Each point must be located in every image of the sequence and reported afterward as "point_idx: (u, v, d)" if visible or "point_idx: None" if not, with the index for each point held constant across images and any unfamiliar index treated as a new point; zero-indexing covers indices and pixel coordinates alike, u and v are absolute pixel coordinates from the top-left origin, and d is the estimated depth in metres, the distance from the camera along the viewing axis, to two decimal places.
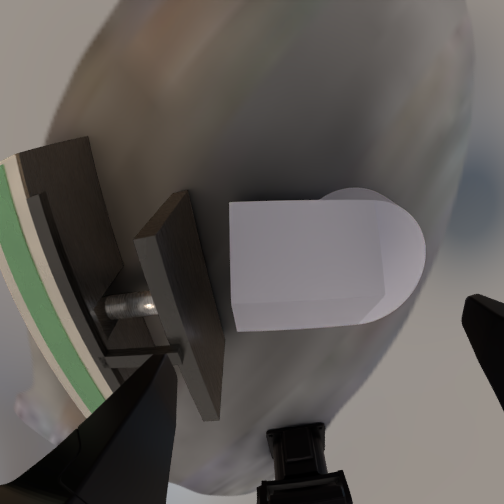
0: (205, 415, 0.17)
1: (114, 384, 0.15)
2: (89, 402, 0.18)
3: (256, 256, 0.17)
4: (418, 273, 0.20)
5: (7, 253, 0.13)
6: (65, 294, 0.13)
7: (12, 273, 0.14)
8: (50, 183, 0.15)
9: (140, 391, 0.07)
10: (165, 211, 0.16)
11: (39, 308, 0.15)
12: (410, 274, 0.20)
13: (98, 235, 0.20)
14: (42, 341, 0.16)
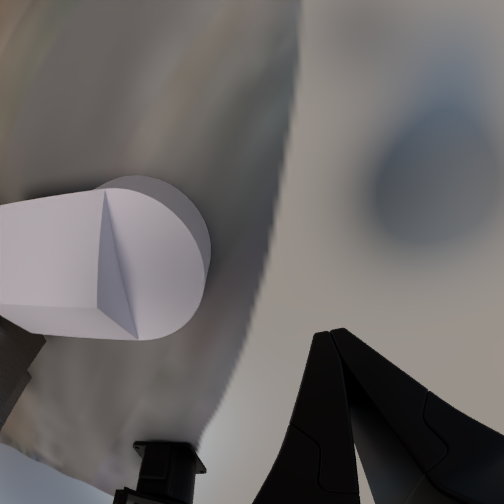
0: None
1: None
2: None
3: None
4: (199, 281, 0.16)
5: None
6: None
7: None
8: None
9: (338, 368, 0.06)
10: None
11: None
12: (185, 282, 0.16)
13: None
14: None
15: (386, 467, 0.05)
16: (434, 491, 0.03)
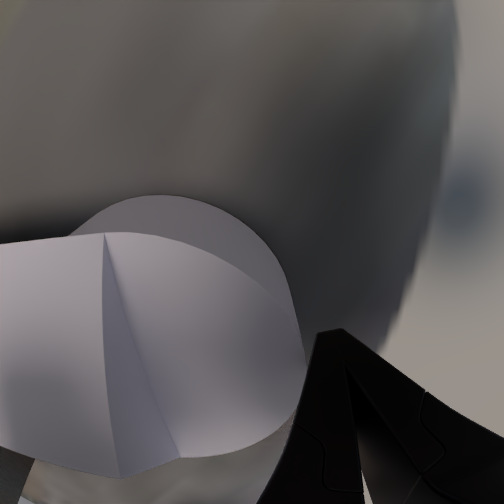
0: None
1: None
2: None
3: None
4: (294, 391, 0.09)
5: None
6: None
7: None
8: None
9: (340, 368, 0.06)
10: None
11: None
12: (269, 394, 0.09)
13: None
14: None
15: (383, 468, 0.05)
16: (431, 492, 0.03)
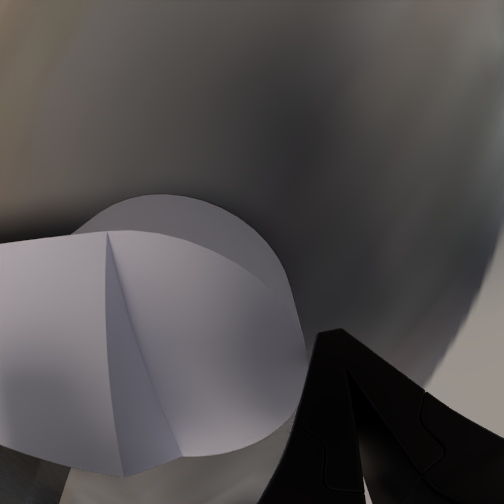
0: None
1: None
2: None
3: None
4: (296, 389, 0.09)
5: None
6: None
7: None
8: None
9: (341, 368, 0.06)
10: None
11: None
12: (271, 392, 0.09)
13: None
14: None
15: (382, 468, 0.05)
16: (430, 493, 0.03)
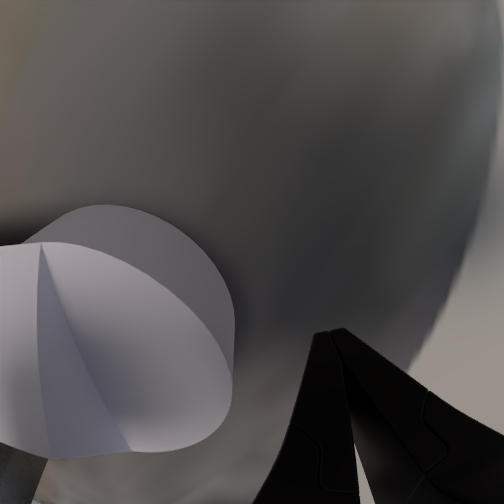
0: None
1: None
2: None
3: None
4: (223, 396, 0.09)
5: None
6: None
7: None
8: None
9: (338, 368, 0.06)
10: None
11: None
12: (199, 396, 0.09)
13: None
14: None
15: (386, 467, 0.05)
16: (434, 491, 0.03)
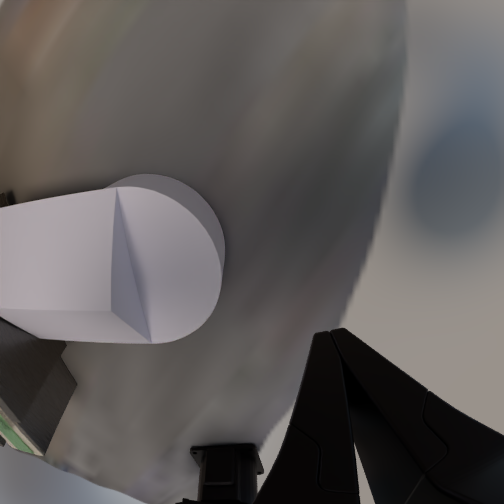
0: (8, 415, 0.13)
1: None
2: None
3: (3, 261, 0.13)
4: (215, 281, 0.16)
5: None
6: None
7: None
8: None
9: (337, 368, 0.06)
10: None
11: None
12: (201, 283, 0.16)
13: None
14: None
15: (386, 467, 0.05)
16: (434, 491, 0.03)
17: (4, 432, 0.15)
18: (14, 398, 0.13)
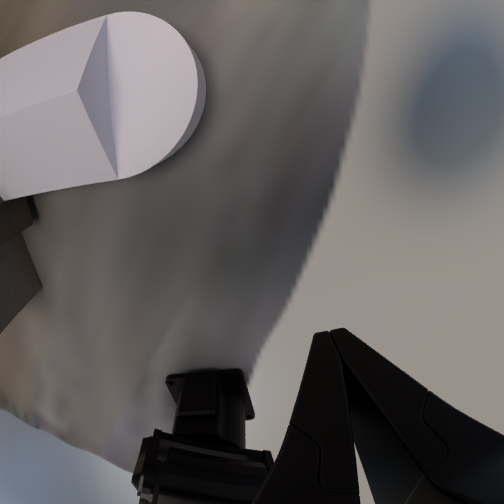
0: None
1: None
2: None
3: None
4: (191, 92, 0.13)
5: None
6: None
7: None
8: None
9: (337, 368, 0.06)
10: None
11: None
12: (176, 94, 0.13)
13: None
14: None
15: (386, 467, 0.05)
16: (434, 491, 0.03)
17: None
18: None
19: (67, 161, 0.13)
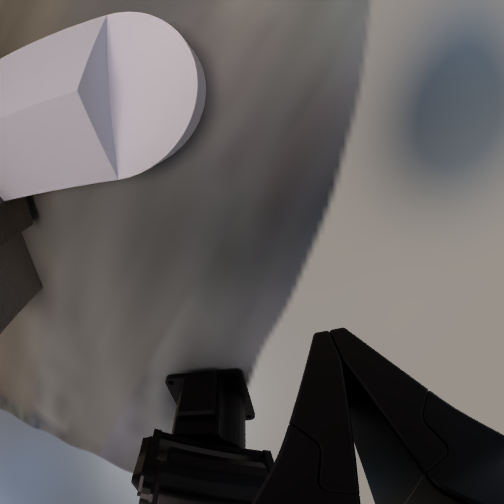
0: None
1: None
2: None
3: None
4: (191, 92, 0.13)
5: None
6: None
7: None
8: None
9: (338, 368, 0.06)
10: None
11: None
12: (176, 94, 0.13)
13: None
14: None
15: (386, 467, 0.05)
16: (434, 491, 0.03)
17: None
18: None
19: (67, 161, 0.13)
